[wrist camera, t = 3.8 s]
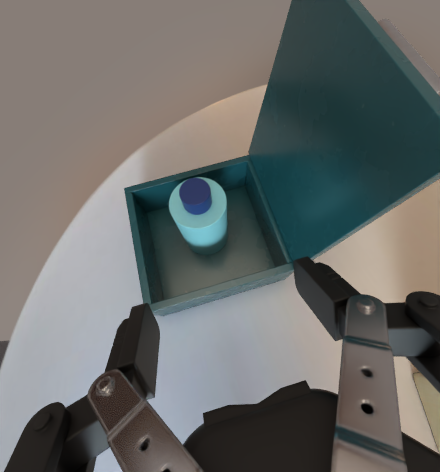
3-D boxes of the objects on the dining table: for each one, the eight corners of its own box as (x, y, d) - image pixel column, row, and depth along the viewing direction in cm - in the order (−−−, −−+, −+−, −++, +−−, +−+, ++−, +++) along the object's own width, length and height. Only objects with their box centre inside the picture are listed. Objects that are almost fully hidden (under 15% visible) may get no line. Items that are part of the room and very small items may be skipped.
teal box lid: (468, 153, 9) (558, 134, 9) (305, -50, 14) (374, -50, 14) (295, 268, 23) (336, 257, 24) (248, 152, 28) (283, 146, 29)
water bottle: (190, 260, 30) (170, 227, 20) (181, 221, 32) (157, 173, 22) (233, 248, 31) (234, 209, 20) (221, 210, 33) (216, 157, 22)
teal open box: (162, 316, 29) (145, 314, 23) (142, 211, 34) (123, 188, 28) (284, 279, 30) (297, 268, 24) (247, 183, 35) (251, 154, 29)
